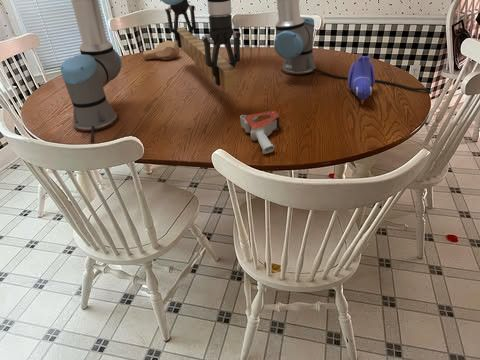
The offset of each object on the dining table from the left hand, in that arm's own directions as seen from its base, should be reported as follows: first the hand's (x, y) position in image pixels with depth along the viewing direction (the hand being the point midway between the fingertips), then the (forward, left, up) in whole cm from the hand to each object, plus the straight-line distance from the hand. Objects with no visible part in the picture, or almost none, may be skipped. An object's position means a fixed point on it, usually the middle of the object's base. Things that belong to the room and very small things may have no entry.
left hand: (224, 82), depth 130 cm
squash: (+68, +38, -11) cm, 78 cm away
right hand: (+48, +21, +1) cm, 52 cm away
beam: (+24, +11, 0) cm, 26 cm away
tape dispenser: (-22, -12, -11) cm, 28 cm away
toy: (+6, -52, -11) cm, 53 cm away
